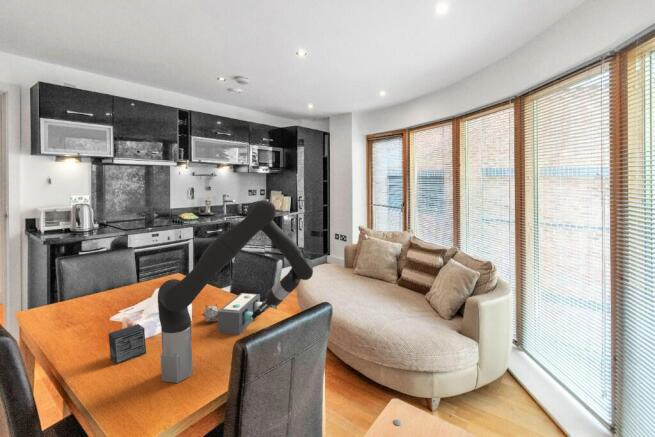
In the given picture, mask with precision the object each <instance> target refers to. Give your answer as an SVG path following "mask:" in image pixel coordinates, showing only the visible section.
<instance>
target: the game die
mask: <svg viewBox="0 0 655 437" xmlns="http://www.w3.org/2000/svg"><path fill="white" fill-rule="evenodd" d="M217 306H218V303H216V304H215V305H209V306H207V305H206V304H205V308H204V311H203V313H202V314H201V316H203V317H204V321H205V324H207V323H210V322H216V323H218V311H219V309H218V307H217Z"/></svg>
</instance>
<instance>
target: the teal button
mask: <svg viewBox="0 0 655 437" xmlns="http://www.w3.org/2000/svg"><path fill="white" fill-rule="evenodd" d="M252 314H253V312H249V311H245V312H244V315H243V321H246V322H251V321H252V319H253V318H252V317H251V315H252ZM252 322H253V321H252ZM252 322H251V323H252Z"/></svg>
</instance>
